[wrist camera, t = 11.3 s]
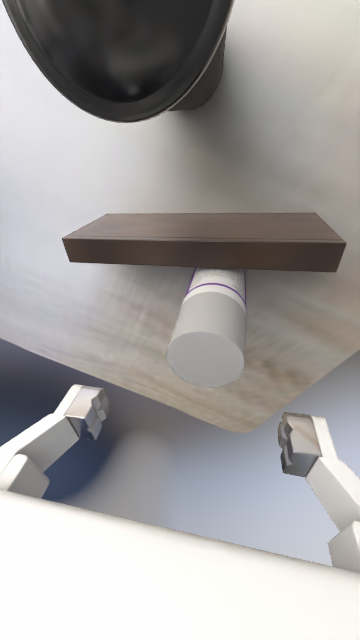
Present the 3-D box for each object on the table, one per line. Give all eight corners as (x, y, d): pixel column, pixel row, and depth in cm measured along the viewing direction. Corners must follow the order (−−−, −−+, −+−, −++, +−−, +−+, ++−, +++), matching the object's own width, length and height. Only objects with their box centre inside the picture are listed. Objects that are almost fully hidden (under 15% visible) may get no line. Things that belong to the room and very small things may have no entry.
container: (226, 287, 27) (215, 399, 15) (191, 264, 26) (151, 364, 15) (254, 253, 24) (266, 359, 12) (216, 227, 24) (190, 313, 12)
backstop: (111, 233, 26) (69, 262, 20) (106, 213, 25) (61, 238, 19) (309, 235, 22) (336, 272, 16) (315, 212, 21) (347, 243, 15)
